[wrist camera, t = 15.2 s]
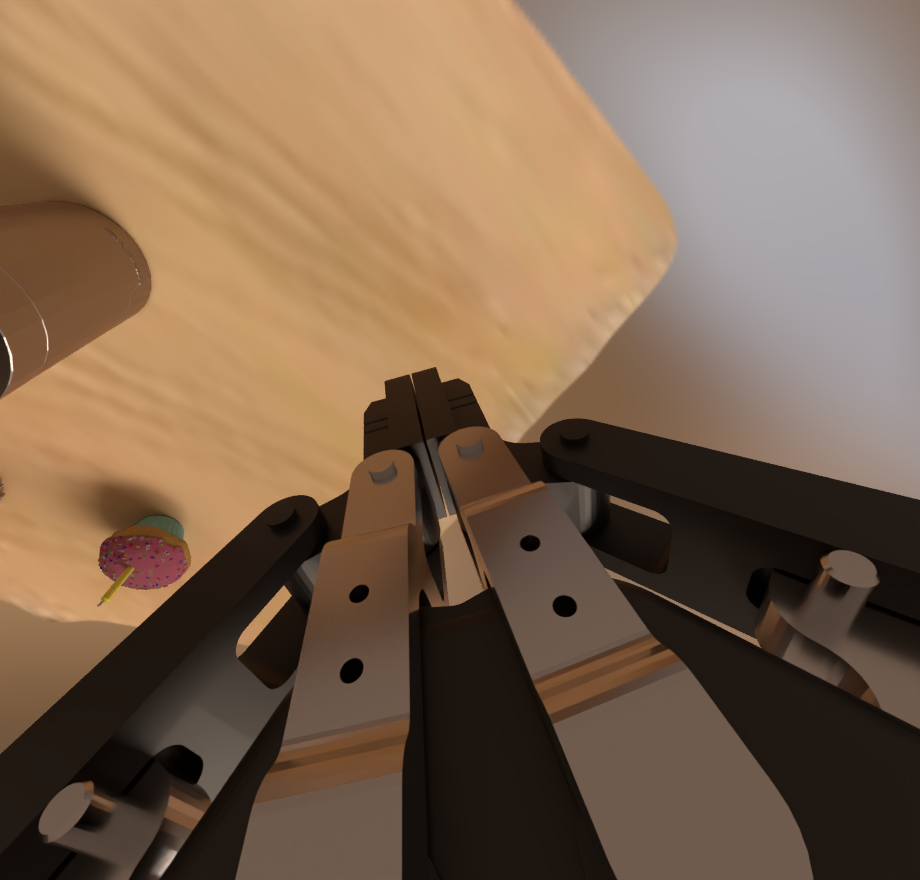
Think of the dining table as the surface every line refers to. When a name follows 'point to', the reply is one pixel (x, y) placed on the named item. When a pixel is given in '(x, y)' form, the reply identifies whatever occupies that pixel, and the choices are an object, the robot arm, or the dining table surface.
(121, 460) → the dining table surface
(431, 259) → the dining table surface
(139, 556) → the cupcake
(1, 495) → the decorative ornament
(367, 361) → the dining table surface
